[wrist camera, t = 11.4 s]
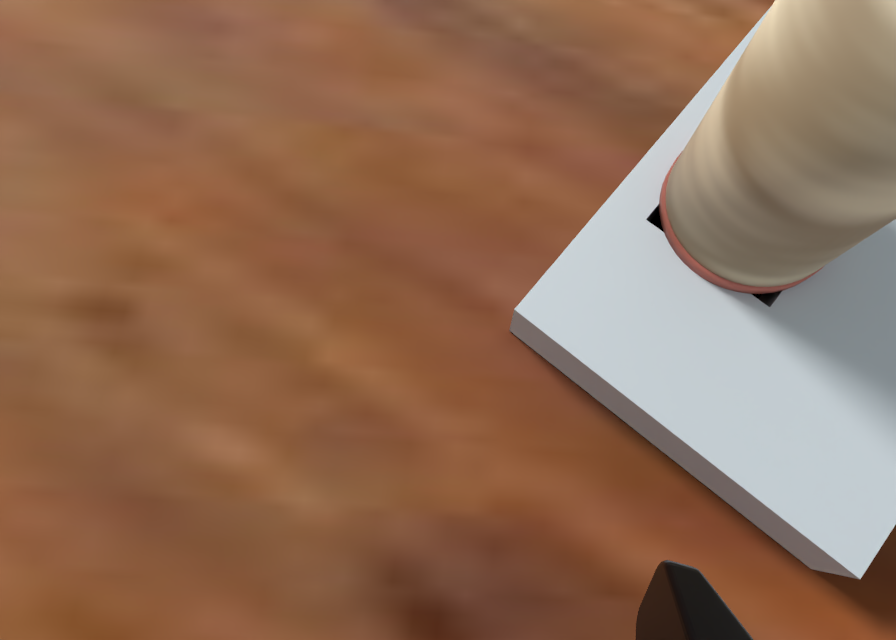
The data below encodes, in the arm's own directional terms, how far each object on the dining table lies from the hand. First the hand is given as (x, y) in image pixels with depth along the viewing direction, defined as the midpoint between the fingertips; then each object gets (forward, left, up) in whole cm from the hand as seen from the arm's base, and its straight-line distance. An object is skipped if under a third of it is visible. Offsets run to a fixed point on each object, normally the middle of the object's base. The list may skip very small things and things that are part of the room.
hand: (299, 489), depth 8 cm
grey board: (-5, -14, -12) cm, 20 cm away
